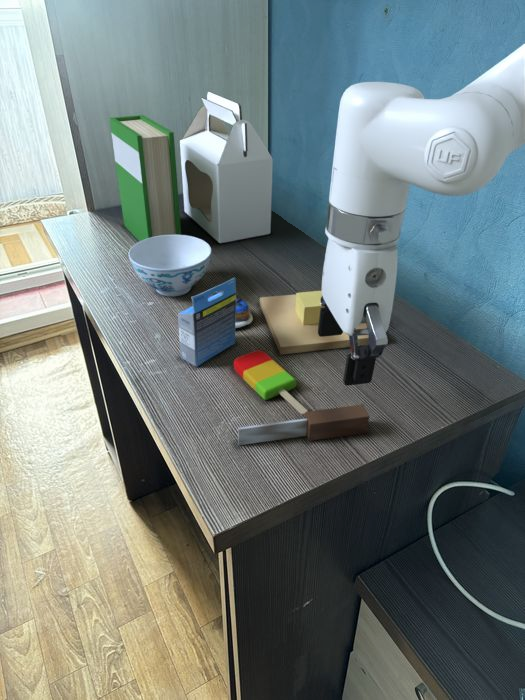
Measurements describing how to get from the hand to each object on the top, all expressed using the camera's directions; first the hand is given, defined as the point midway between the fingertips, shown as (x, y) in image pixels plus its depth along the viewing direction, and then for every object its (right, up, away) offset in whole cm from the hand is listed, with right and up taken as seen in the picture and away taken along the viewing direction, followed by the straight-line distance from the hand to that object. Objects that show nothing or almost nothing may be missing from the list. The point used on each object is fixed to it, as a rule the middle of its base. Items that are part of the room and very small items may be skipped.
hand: (342, 357), depth 62 cm
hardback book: (-35, +27, +58) cm, 73 cm away
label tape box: (-18, 0, +21) cm, 28 cm away
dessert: (-15, +6, +29) cm, 33 cm away
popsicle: (-8, -5, +14) cm, 16 cm away
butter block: (0, +7, +27) cm, 28 cm away
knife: (-4, -10, +6) cm, 13 cm away
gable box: (-19, +32, +65) cm, 75 cm away
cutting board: (0, +6, +28) cm, 29 cm away
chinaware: (-27, +13, +37) cm, 48 cm away
